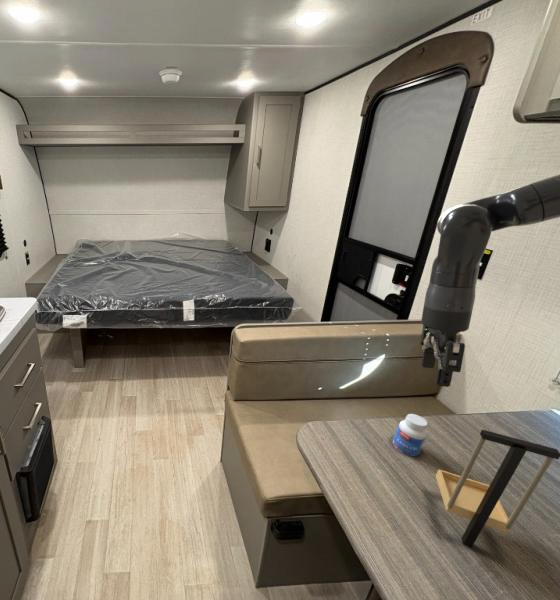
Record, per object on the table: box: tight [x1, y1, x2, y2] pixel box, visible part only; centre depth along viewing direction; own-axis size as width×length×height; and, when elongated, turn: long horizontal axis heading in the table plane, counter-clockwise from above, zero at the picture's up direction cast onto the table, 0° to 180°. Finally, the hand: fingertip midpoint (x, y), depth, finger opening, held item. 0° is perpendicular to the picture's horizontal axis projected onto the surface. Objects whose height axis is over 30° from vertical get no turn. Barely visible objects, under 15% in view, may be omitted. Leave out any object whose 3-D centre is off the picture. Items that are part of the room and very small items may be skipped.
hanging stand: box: [435, 429, 560, 548], centre depth 57 cm, size 9×9×25 cm
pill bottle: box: [392, 413, 429, 457], centre depth 77 cm, size 6×5×10 cm
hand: (434, 375), depth 70 cm, fingers open, 8 cm apart
